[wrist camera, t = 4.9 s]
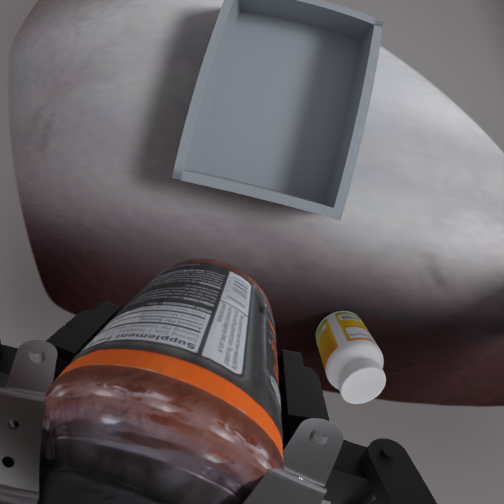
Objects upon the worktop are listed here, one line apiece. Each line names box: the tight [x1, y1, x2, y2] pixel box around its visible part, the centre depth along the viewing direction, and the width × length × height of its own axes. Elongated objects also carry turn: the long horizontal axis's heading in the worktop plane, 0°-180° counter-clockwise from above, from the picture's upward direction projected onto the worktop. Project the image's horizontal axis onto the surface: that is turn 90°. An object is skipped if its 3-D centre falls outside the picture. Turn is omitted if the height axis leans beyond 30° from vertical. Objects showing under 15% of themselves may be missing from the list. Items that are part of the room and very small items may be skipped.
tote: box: [172, 0, 383, 220], centre depth 24 cm, size 14×19×5 cm
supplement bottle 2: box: [316, 311, 386, 404], centre depth 27 cm, size 5×5×10 cm
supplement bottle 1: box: [41, 259, 284, 504], centre depth 8 cm, size 6×6×11 cm
